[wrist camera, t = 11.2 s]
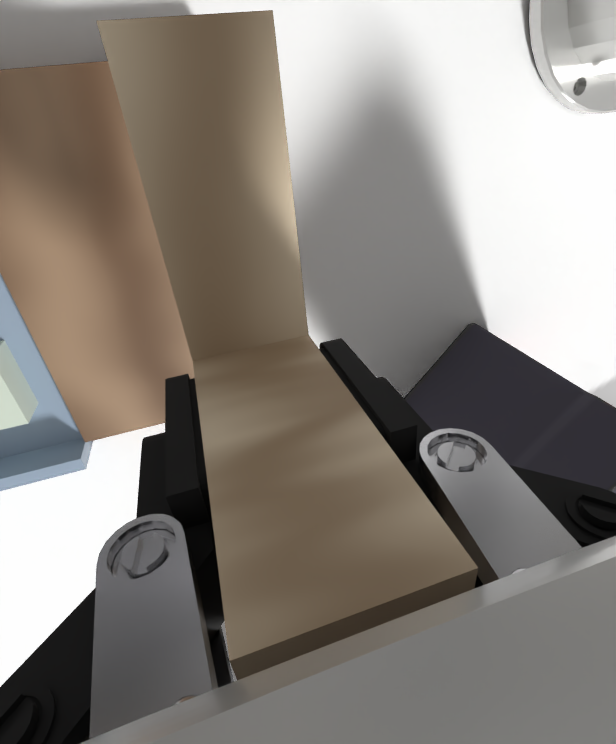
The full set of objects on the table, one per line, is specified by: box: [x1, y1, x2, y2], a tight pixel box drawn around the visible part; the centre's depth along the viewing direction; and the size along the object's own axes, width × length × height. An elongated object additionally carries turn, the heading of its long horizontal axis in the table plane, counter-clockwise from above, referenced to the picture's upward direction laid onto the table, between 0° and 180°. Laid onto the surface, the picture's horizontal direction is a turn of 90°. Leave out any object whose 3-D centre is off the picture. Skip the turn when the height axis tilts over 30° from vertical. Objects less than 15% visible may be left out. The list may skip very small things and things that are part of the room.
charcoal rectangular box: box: [405, 323, 616, 493], centre depth 27 cm, size 11×4×15 cm, turn 140°
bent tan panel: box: [97, 10, 478, 680], centre depth 9 cm, size 3×16×10 cm, turn 5°
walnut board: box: [0, 61, 195, 442], centre depth 22 cm, size 12×18×2 cm, turn 5°
